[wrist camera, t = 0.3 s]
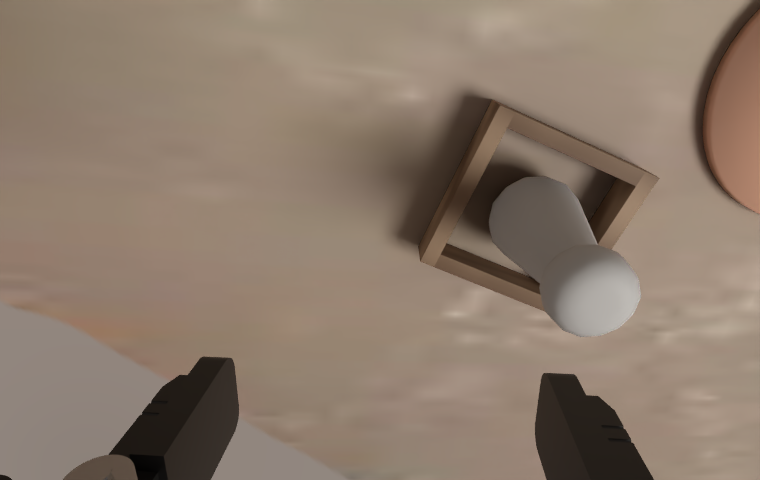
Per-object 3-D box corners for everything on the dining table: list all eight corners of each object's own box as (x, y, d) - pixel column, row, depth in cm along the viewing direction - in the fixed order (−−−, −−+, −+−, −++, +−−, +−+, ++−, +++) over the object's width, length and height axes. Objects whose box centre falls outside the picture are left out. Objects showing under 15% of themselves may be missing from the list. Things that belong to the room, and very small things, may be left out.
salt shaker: (482, 249, 35) (529, 361, 23) (482, 170, 33) (534, 250, 21) (565, 244, 35) (656, 355, 23) (571, 164, 33) (675, 241, 21)
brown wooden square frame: (492, 99, 31) (500, 105, 29) (640, 167, 33) (659, 178, 31) (418, 246, 35) (420, 261, 33) (553, 301, 37) (564, 319, 35)
